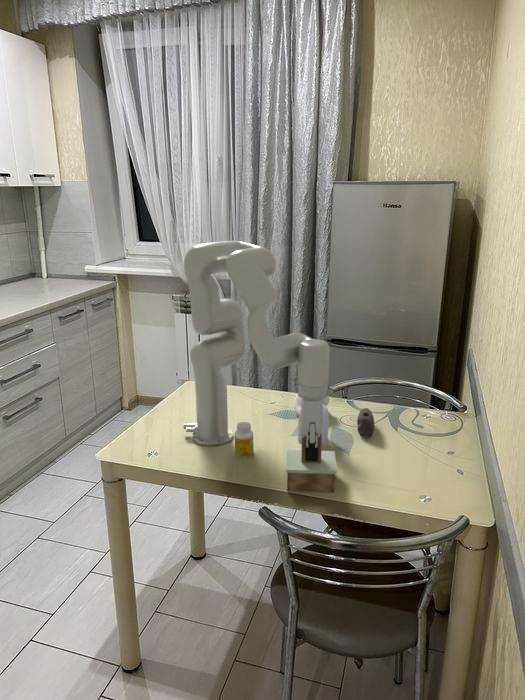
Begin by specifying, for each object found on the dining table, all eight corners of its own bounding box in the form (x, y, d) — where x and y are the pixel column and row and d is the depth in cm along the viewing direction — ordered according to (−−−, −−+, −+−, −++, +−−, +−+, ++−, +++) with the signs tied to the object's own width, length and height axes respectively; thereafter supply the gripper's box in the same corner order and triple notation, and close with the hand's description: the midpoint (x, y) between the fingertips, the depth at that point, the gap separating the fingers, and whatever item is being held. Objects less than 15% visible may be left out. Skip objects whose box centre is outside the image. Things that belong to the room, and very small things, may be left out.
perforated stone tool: (357, 420, 176) (358, 401, 174) (373, 421, 176) (374, 402, 174) (356, 440, 162) (357, 419, 160) (373, 442, 161) (375, 421, 159)
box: (287, 492, 134) (287, 471, 133) (288, 472, 144) (288, 452, 142) (334, 494, 134) (335, 473, 132) (332, 474, 143) (333, 454, 141)
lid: (286, 472, 132) (286, 444, 130) (287, 452, 143) (287, 425, 140) (336, 474, 132) (337, 445, 129) (334, 453, 142) (335, 427, 139)
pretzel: (285, 416, 180) (285, 391, 177) (306, 405, 189) (306, 382, 186) (312, 425, 173) (312, 400, 170) (332, 414, 182) (333, 389, 179)
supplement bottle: (232, 458, 152) (231, 427, 149) (239, 449, 157) (238, 419, 154) (249, 461, 150) (249, 430, 147) (256, 452, 155) (256, 422, 152)
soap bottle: (326, 448, 158) (329, 370, 150) (296, 445, 159) (297, 368, 152) (328, 435, 166) (331, 360, 159) (300, 432, 168) (301, 359, 160)
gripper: (298, 377, 139) (297, 439, 145) (297, 402, 123) (296, 471, 129) (326, 377, 139) (324, 440, 144) (329, 402, 123) (327, 472, 128)
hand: (311, 454), depth 136 cm, fingers open, 4 cm apart
